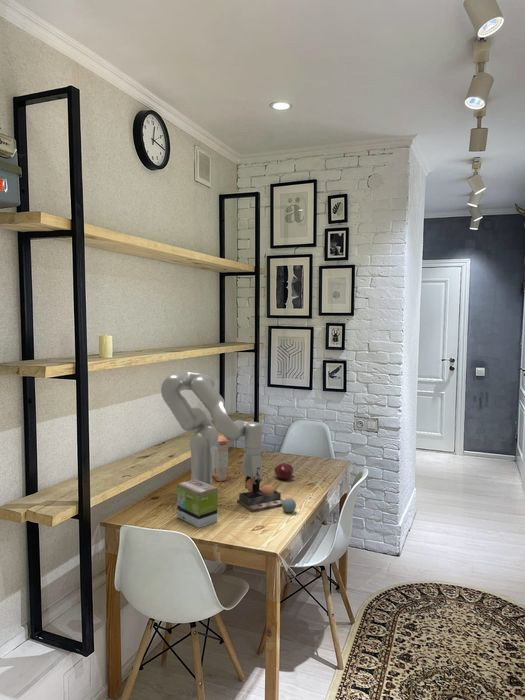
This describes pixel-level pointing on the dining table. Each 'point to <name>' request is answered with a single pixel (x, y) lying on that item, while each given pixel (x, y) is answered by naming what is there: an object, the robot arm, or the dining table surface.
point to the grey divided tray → (259, 501)
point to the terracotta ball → (250, 484)
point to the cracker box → (220, 459)
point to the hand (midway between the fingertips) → (252, 489)
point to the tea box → (197, 502)
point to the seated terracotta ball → (267, 490)
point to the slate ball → (288, 505)
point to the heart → (284, 471)
